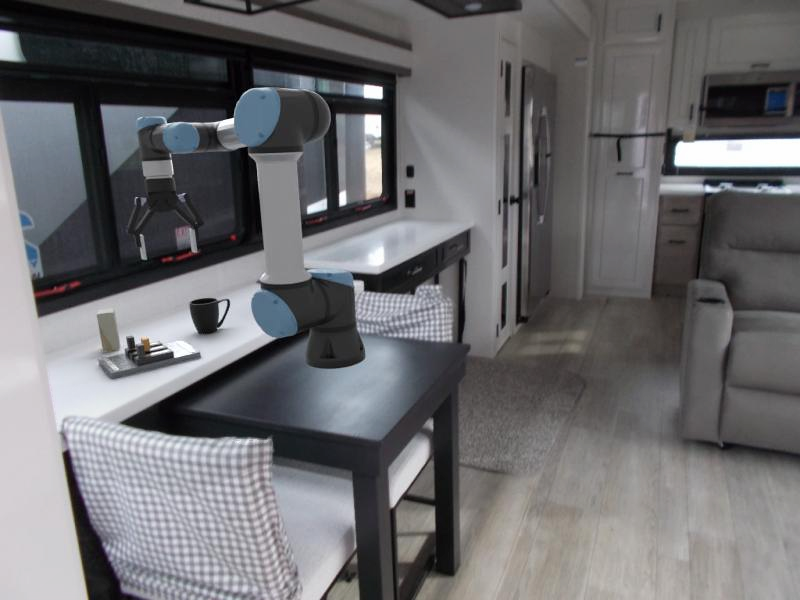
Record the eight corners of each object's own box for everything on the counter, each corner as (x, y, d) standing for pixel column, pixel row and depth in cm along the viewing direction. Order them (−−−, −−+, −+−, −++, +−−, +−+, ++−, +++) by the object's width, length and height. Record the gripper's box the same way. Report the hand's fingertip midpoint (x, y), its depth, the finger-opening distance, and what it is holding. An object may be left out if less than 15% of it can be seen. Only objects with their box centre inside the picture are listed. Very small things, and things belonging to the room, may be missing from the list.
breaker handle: (150, 349, 161) (148, 338, 160) (144, 350, 160) (142, 339, 160) (148, 347, 163) (146, 336, 162) (142, 349, 162) (140, 338, 161)
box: (104, 347, 176) (97, 309, 173) (120, 345, 178) (114, 307, 175) (102, 352, 171) (96, 314, 169) (119, 350, 173) (113, 311, 170)
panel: (200, 357, 164) (197, 334, 162) (112, 378, 151) (108, 354, 149) (183, 345, 174) (180, 323, 173) (99, 364, 162) (94, 341, 160)
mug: (237, 329, 188) (234, 298, 185) (198, 337, 181) (193, 306, 179) (227, 323, 194) (224, 294, 192) (189, 331, 188) (185, 301, 185)
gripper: (200, 173, 175) (209, 247, 181) (105, 180, 162) (118, 260, 167) (209, 174, 169) (218, 250, 175) (112, 180, 156) (125, 264, 161)
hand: (169, 255), depth 171 cm, fingers open, 13 cm apart
